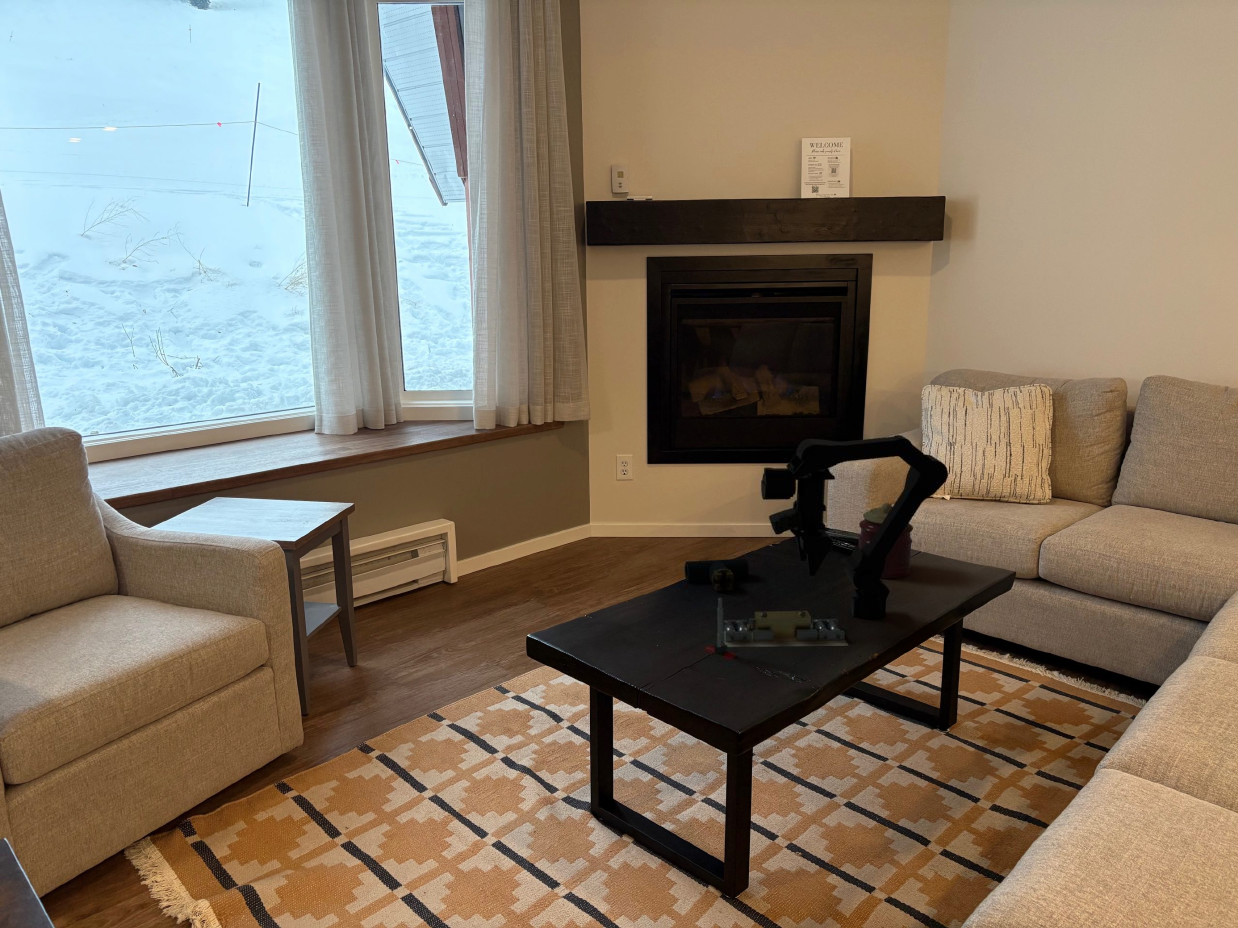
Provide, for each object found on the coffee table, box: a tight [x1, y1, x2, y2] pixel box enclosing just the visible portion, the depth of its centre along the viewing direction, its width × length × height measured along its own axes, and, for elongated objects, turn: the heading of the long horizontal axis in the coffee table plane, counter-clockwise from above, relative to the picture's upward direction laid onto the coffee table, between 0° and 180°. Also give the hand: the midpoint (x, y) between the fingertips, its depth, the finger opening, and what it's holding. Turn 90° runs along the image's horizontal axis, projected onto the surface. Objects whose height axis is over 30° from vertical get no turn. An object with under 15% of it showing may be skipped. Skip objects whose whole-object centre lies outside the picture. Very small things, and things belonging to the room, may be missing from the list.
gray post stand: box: [705, 597, 738, 660], centre depth 174 cm, size 8×13×9 cm
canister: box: [858, 502, 914, 579], centre depth 223 cm, size 13×13×18 cm
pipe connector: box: [684, 558, 749, 592], centre depth 217 cm, size 12×5×15 cm
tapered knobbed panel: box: [754, 610, 812, 638], centre depth 186 cm, size 11×4×5 cm, turn 91°
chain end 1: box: [724, 617, 773, 642], centre depth 186 cm, size 10×7×2 cm
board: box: [724, 623, 850, 648], centre depth 186 cm, size 25×11×1 cm, turn 90°
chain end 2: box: [796, 618, 846, 641], centre depth 186 cm, size 10×7×2 cm
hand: (807, 567), depth 193 cm, fingers open, 9 cm apart
